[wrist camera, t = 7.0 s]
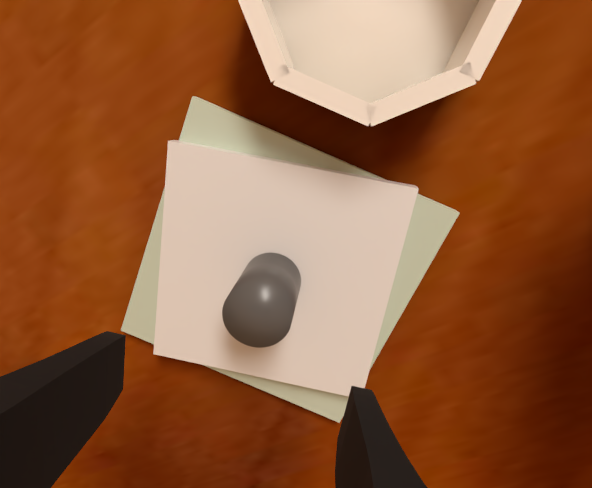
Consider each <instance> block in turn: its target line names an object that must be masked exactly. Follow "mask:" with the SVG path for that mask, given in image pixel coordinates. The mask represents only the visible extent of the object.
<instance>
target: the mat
mask: <svg viewBox="0 0 592 488" xmlns="http://www.w3.org/2000/svg"><path fill="white" fill-rule="evenodd" d="M179 141H184V142H189V143H194V144H200V145H205V146H210V147H216V148H221V149H226V150H231V151H237V152H242V153H247V154H252V155H258V156H263V157H268V158H273V159H279V160H284V161H289V162H295V163H300V164H305V165H310V166H316V167H321V168H326V169H331V170H337V171H342V172H347V173H352V174H358V175H363V176H368V177H374V178H379V179H384V178H381V177H379V176H377V175H374V174H372V173H370V172H368V171H365V170H363V169H361V168H358V167H356V166H354V165H352V164H349V163H347V162H345V161H342V160H340V159H338V158H336V157H333V156H331V155H329V154H326V153H324V152H322V151H320V150H317V149H315V148H313V147H311V146H308V145H306V144H304V143H301V142H299V141H297V140H295V139H292V138H290V137H288V136H285V135H283V134H281V133H279V132H276V131H274V130H272V129H269V128H267V127H265V126H263V125H260V124H258V123H256V122H253V121H251V120H249V119H247V118H244V117H242V116H240V115H237V114H235V113H233V112H231V111H228V110H226V109H224V108H221V107H219V106H217V105H215V104H212V103H210V102H208V101H205V100H203V99H201V98H199V97H195V96H192V99H191V103H190V106H189V109H188V112H187V116H186V119H185V122H184V125H183V129H182V132H181V135H180V139H179ZM384 180H386V179H384ZM164 194H165V188H164V191H163V194H162V197H161V201H160V204H159V207H158V210H157V214H156V217H155V220H154V224H153V227H152V230H151V233H150V237H149V240H148V243H147V246H146V250H145V253H144V256H143V260H142V263H141V266H140V269H139V273H138V276H137V279H136V282H135V286H134V289H133V292H132V296H131V299H130V302H129V305H128V309H127V312H126V315H125V318H124V322H123V325H122V328H121V331H123V332H126V333H128V334H130V335H133V336H135V337H137V338H140V339H142V340H145V341H147V342H149V343H152V344H154V338H155V324H156V310H157V295H158V281H159V266H160V252H161V237H162V223H163V208H164ZM458 215H459V212H458V211H457V210H454V209H452V208H450V207H448V206H445V205H443V204H441V203H438V202H436V201H434V200H432V199H429V198H427V197H425V196H422V195H420V194H418V193H417V197H416V201H415V204H414V208H413V212H412V216H411V219H410V223H409V227H408V230H407V234H406V238H405V241H404V245H403V249H402V252H401V256H400V260H399V263H398V267H397V271H396V274H395V278H394V282H393V285H392V289H391V293H390V296H389V300H388V304H387V307H386V311H385V315H384V318H383V322H382V326H381V329H380V333H379V337H378V340H377V344H376V348H375V351H374V355H373V359H372V362H371V366H370V369H371V367H372V365H373V363H374V362H375V360H376V358H377V356H378V355H379V353H380V351H381V349H382V348H383V346H384V344H385V342H386V341H387V339H388V337H389V335H390V334H391V332H392V330H393V328H394V327H395V325H396V323H397V321H398V320H399V318H400V316H401V314H402V313H403V311H404V309H405V307H406V306H407V304H408V302H409V301H410V299H411V297H412V295H413V294H414V292H415V290H416V288H417V287H418V285H419V283H420V281H421V280H422V278H423V276H424V274H425V273H426V271H427V269H428V267H429V266H430V264H431V262H432V260H433V259H434V257H435V255H436V253H437V252H438V250H439V248H440V246H441V245H442V243H443V241H444V239H445V238H446V236H447V234H448V233H449V231H450V229H451V227H452V226H453V224H454V222H455V220H456V219H457V217H458ZM204 366H206V365H204ZM206 367H208V368H211V369H213V370H216V371H218V372H220V373H223V374H225V375H227V376H230V377H232V378H234V379H237V380H239V381H242V382H244V383H246V384H249V385H251V386H253V387H256V388H258V389H260V390H263V391H265V392H268V393H270V394H272V395H275V396H277V397H279V398H282V399H284V400H286V401H289V402H291V403H294V404H296V405H298V406H301V407H303V408H305V409H308V410H310V411H312V412H315V413H317V414H320V415H322V416H324V417H327V418H329V419H331V420H334V421H336V422H339V423H340V421H341V419H342V417H343V416H344V413H345V409H346V405H347V401H348V398H349V397H348V396H344V395H339V394H335V393H330V392H326V391H321V390H316V389H312V388H307V387H303V386H298V385H293V384H289V383H284V382H280V381H275V380H270V379H266V378H261V377H257V376H252V375H247V374H243V373H238V372H234V371H229V370H224V369H220V368H215V367H211V366H206Z"/></svg>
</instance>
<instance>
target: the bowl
mask: <svg viewBox="0 0 592 488" xmlns="http://www.w3.org/2000/svg"><path fill="white" fill-rule="evenodd" d="M238 1H239V4H240V6H241V9H242V11H243V14H244V16H245V19H246V21H247V24H248V26H249V29H250V31H251V34H252V36H253V39H254V41H255V44H256V46H257V49H258V51H259V54H260V56H261V59H262V61H263V64H264V66H265V69H266V71H267V74H268V76H269V79H270V81H271V82H272V83H274V84H273V85H275V86H277V87H280V88H282V89H284V90H286V91H289V92H291V93H293V94H295V95H298V96H300V97H302V98H305V99H307V100H309V101H311V102H314V103H316V104H318V105H320V106H323V107H325V108H327V109H330V110H332V111H334V112H336V113H339V114H341V115H343V116H345V117H348V118H350V119H352V120H354V121H357V122H359V123H361V124H364V125H366V126H369V125H370V126H374V125H377V124H379V123H381V122H384V121H386V120H389V119H391V118H394V117H396V116H399V115H401V114H403V113H406V112H408V111H411V110H413V109H416V108H418V107H421V106H423V105H425V104H428V103H430V102H433V101H435V100H438V99H440V98H442V97H445V96H447V95H450V94H452V93H455V92H457V91H460V90H462V89H464V88H467V87H469V86H472V85H474V84H476V82H477V81H479V80H480V78H481V77H482V75H483V73H484V71H485V69H486V67H487V65H488V63H489V61H490V60H491V58H492V56H493V54H494V52H495V50H496V48H497V46H498V44H499V43H500V41H501V39H502V37H503V35H504V33H505V31H506V29H507V27H508V25H509V24H510V22H511V20H512V18H513V16H514V14H515V12H516V10H517V8H518V7H519V5H520V3H521V1H522V0H238Z"/></svg>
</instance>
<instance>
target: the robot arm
mask: <svg viewBox="0 0 592 488" xmlns="http://www.w3.org/2000/svg"><path fill="white" fill-rule="evenodd" d="M125 336H126V335H121V334H117V333H112V332H108V331H107V332H104V333H101V334H99V335H97V336H94V337H92V338H90V339H88V340H85V341H83V342H81V343H79V344H77V345H74V346H72V347H70V348H68V349H66V350H63V351H61V352H59V353H57V354H55V355H52V356H50V357H48V358H46V359H43V360H41V361H38V362H36V363H34V364H31V365H29V366H26V367H24V368H21V369H19V370H16V371H14V372H11V373H9V374H6V375H4V376H1V377H0V488H51V487H52V485H53V484H54V483H55V481H56V480H57V479H58V478H59V476H60V475H61V474H62V472H63V471H64V470H65V469H66V467H67V466H68V465H69V464H70V462H71V461H72V460H73V459H74V457H75V456H76V455H77V454H78V452H79V451H80V450H81V449H82V447H83V446H84V445H85V444H86V442H87V441H88V440H89V439H90V437H91V436H92V435H93V433H94V432H95V431H96V430H97V428H98V427H99V426H100V424H101V423H102V422H103V420H104V419H105V418H106V416H107V415H108V413H109V411H110V410H111V408H112V407H113V405H114V403H115V402H116V400H117V398H118V397H119V395H120V393H121V391H122V390H123V377H124V356H125ZM335 483H336V488H427V487H426V485H425V484H424V483H423V481H422V480H421V478H420V477H419V475H418V474H417V472H416V471H415V469H414V467H413V466H412V464H411V463H410V461H409V460H408V458H407V456H406V455H405V453H404V451H403V450H402V448H401V446H400V444H399V442H398V441H397V439H396V437H395V435H394V434H393V432H392V430H391V428H390V426H389V424H388V422H387V420H386V418H385V416H384V414H383V412H382V410H381V408H380V406H379V404H378V402H377V399H376V397H375V395H374V393H373V392H372V390H369V389H365V388H360V387H356V386H351V390H350V394H349V398H348V401H347V405H346V409H345V413H344V416H343V420H342V424H341V428H340V431H339V435H338V441H337V453H336V467H335Z"/></svg>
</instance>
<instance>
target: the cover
mask: <svg viewBox="0 0 592 488" xmlns="http://www.w3.org/2000/svg"><path fill="white" fill-rule="evenodd" d="M418 190H419V188H418V187H417V186H416V185H410V184H405V183H400V182H395V181H389V180H384V179H379V178H374V177H368V176H363V175H358V174H352V173H347V172H342V171H337V170H331V169H326V168H321V167H316V166H310V165H305V164H300V163H295V162H289V161H284V160H279V159H273V158H268V157H263V156H258V155H252V154H247V153H242V152H237V151H231V150H226V149H221V148H216V147H210V146H205V145H200V144H194V143H189V142H184V141H179V140H170V141H168V151H167V165H166V179H165V194H164V208H163V223H162V237H161V252H160V266H159V281H158V295H157V310H156V324H155V338H154V353H153V354H155V355H160V356H165V357H169V358H174V359H178V360H183V361H188V362H192V363H197V364H201V365H206V366H211V367H215V368H220V369H224V370H229V371H234V372H238V373H243V374H247V375H252V376H257V377H261V378H266V379H270V380H275V381H280V382H284V383H289V384H293V385H298V386H303V387H307V388H312V389H316V390H321V391H326V392H330V393H335V394H339V395H344V396H348V397H349V394H350V390H351V386H356V387H360V388H365V385H366V381H367V377H368V374H369V370H370V366H371V362H372V359H373V355H374V351H375V348H376V344H377V340H378V337H379V333H380V329H381V326H382V322H383V318H384V315H385V311H386V307H387V304H388V300H389V296H390V293H391V289H392V285H393V282H394V278H395V274H396V271H397V267H398V263H399V260H400V256H401V252H402V249H403V245H404V241H405V238H406V234H407V230H408V227H409V223H410V219H411V216H412V212H413V208H414V204H415V201H416V197H417V193H418Z"/></svg>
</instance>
